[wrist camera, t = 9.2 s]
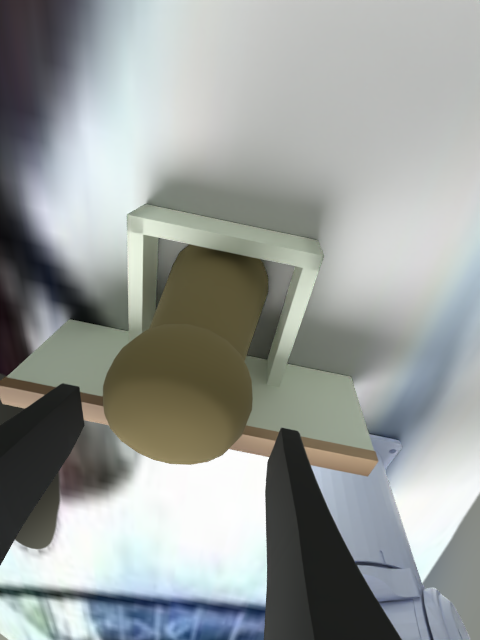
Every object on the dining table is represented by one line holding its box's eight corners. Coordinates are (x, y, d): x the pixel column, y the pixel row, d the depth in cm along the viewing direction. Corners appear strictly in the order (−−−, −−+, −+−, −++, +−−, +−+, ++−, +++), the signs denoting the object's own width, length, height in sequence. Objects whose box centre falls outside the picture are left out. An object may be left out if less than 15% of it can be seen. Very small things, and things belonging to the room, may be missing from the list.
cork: (211, 213, 17) (132, 317, 7) (289, 283, 18) (305, 440, 9) (152, 286, 19) (40, 430, 10) (225, 342, 21) (187, 509, 12)
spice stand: (344, 389, 22) (367, 476, 17) (71, 334, 22) (2, 403, 16) (410, 259, 17) (476, 322, 11) (50, 184, 17) (-62, 211, 11)
